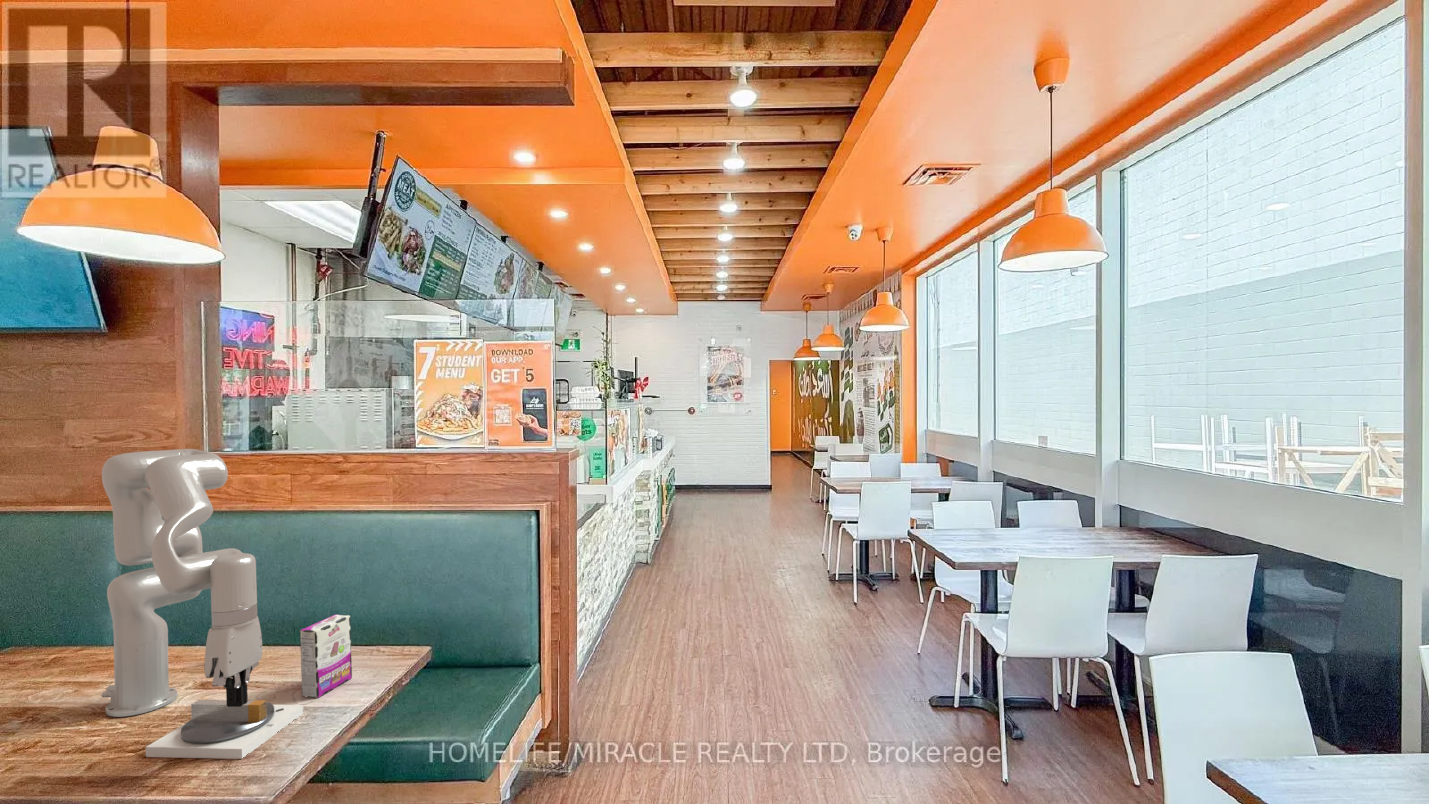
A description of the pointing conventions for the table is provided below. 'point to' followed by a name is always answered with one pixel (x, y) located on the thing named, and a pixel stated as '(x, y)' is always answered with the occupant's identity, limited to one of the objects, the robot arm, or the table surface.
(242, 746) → the dial plate
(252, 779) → the table surface
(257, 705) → the dial
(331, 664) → the candy bar box
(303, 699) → the table surface
